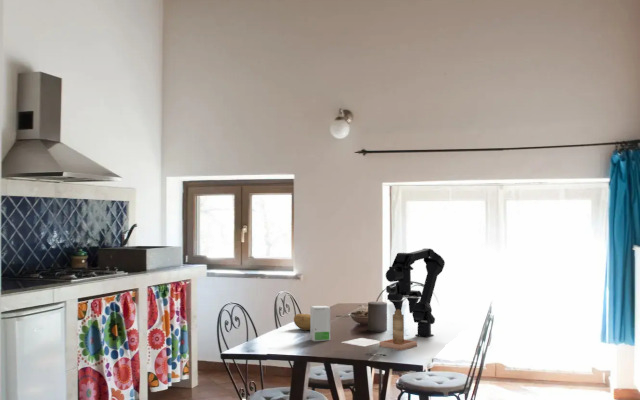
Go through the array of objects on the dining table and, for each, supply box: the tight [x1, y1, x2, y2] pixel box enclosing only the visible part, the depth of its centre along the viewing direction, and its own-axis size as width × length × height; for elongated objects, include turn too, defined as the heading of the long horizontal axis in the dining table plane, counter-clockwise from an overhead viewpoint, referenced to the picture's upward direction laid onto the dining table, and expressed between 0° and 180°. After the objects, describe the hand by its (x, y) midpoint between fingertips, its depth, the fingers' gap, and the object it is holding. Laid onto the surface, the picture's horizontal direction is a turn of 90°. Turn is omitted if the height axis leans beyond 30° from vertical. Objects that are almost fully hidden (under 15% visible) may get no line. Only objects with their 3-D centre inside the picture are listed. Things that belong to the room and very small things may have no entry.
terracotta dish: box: [379, 338, 418, 351], centre depth 283 cm, size 12×12×2 cm
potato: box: [293, 313, 311, 331], centre depth 327 cm, size 10×14×8 cm
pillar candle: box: [367, 301, 388, 333], centre depth 325 cm, size 10×10×15 cm
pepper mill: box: [392, 309, 405, 345], centre depth 283 cm, size 5×5×15 cm
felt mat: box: [341, 337, 382, 348], centre depth 292 cm, size 14×14×1 cm
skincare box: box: [309, 305, 331, 342], centre depth 300 cm, size 8×7×16 cm
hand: (404, 314), depth 297 cm, fingers open, 9 cm apart
